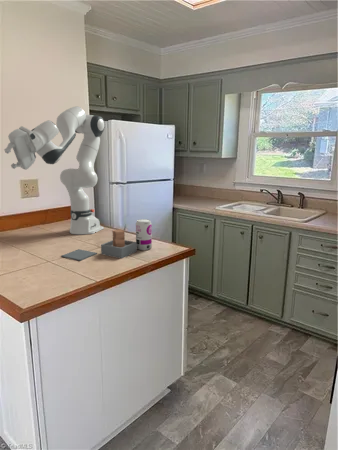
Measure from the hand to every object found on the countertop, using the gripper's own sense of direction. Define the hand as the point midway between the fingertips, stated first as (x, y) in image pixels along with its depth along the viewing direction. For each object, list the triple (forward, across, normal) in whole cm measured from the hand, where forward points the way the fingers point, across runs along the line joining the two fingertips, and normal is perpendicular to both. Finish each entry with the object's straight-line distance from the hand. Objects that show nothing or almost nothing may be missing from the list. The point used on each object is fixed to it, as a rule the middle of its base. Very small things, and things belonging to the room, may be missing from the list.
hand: (9, 159), depth 151 cm
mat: (+9, -34, +42) cm, 54 cm away
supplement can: (-15, -41, +64) cm, 77 cm away
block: (-5, -33, +55) cm, 64 cm away
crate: (-3, -36, +56) cm, 67 cm away
